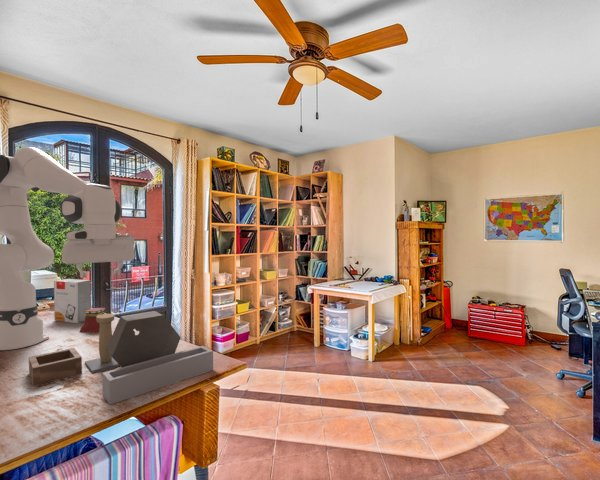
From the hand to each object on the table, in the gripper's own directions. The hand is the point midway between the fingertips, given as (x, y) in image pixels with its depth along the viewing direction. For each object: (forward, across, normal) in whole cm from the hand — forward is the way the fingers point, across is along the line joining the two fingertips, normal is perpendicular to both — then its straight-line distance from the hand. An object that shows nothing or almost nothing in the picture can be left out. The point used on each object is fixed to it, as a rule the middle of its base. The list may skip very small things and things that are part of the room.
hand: (100, 276), depth 105 cm
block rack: (+28, -9, +27) cm, 41 cm away
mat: (+29, -1, +1) cm, 29 cm away
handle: (+28, -1, +1) cm, 28 cm away
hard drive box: (+30, -4, -72) cm, 78 cm away
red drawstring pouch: (+30, -8, -46) cm, 55 cm away
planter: (+29, -8, +16) cm, 34 cm away
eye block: (+29, +12, -2) cm, 31 cm away
